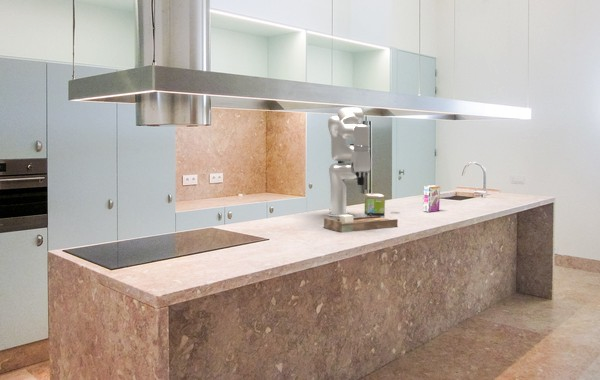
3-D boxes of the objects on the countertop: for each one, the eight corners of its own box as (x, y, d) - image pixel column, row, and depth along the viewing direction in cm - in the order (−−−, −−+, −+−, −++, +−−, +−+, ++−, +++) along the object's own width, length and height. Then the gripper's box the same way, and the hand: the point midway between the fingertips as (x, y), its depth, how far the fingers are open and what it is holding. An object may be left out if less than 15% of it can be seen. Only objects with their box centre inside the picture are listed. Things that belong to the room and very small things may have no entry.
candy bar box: (429, 212, 324) (429, 186, 322) (422, 211, 328) (423, 186, 326) (439, 211, 331) (440, 185, 330) (433, 210, 335) (433, 185, 333)
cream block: (339, 223, 260) (339, 215, 259) (347, 223, 262) (347, 214, 262) (344, 225, 255) (344, 216, 255) (353, 224, 258) (353, 215, 257)
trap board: (323, 227, 267) (323, 218, 267) (379, 222, 283) (379, 213, 283) (340, 232, 253) (340, 222, 253) (397, 226, 269) (397, 217, 268)
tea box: (385, 222, 285) (385, 195, 284) (366, 222, 285) (367, 195, 284) (381, 218, 300) (381, 193, 299) (364, 218, 300) (364, 193, 299)
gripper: (369, 148, 270) (368, 183, 272) (344, 149, 263) (344, 184, 265) (377, 149, 263) (376, 185, 265) (352, 149, 256) (352, 186, 258)
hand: (360, 184), depth 265 cm, fingers closed
